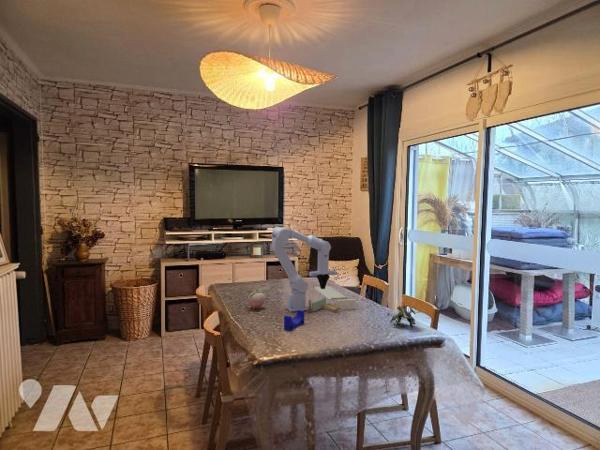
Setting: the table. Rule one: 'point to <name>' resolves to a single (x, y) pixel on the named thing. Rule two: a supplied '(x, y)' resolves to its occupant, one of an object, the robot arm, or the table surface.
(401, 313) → the dark green branching piece
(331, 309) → the doorstop block
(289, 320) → the blue u-shaped block
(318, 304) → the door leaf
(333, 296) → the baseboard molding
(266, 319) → the table surface
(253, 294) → the decorative fruit
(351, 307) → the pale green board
